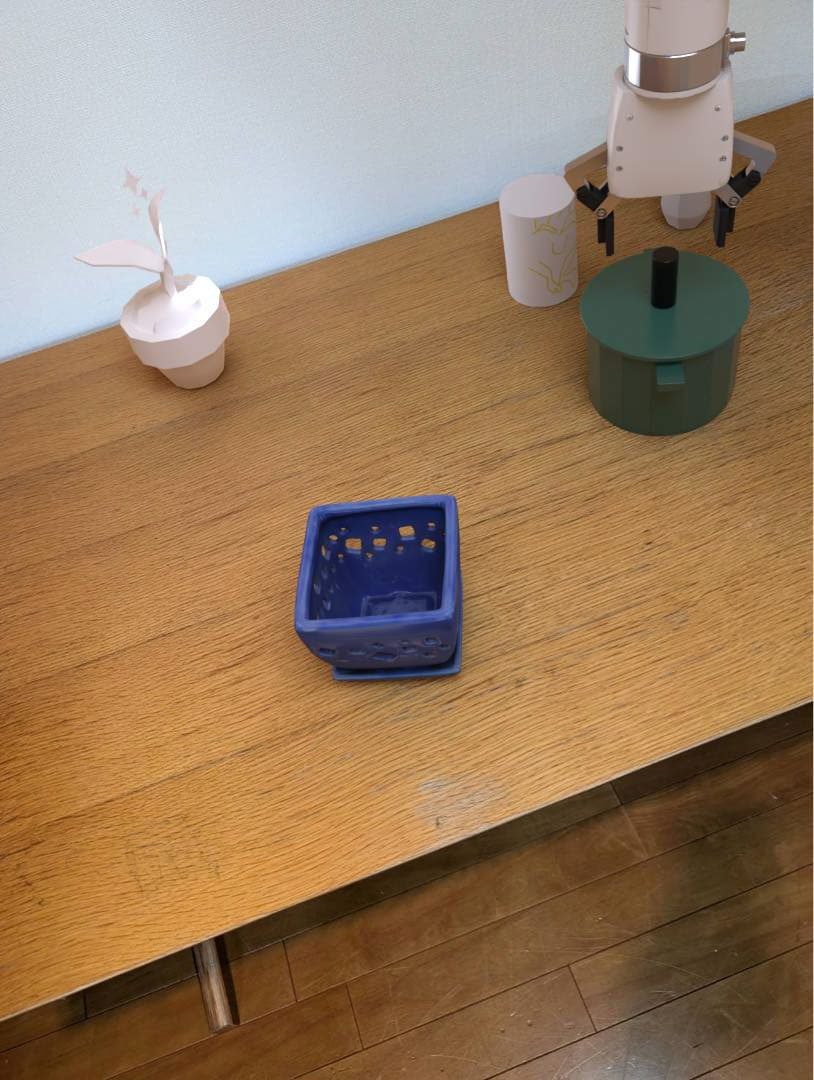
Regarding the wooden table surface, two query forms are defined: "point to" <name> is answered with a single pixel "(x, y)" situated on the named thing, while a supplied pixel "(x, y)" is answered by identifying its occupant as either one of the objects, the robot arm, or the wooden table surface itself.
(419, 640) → the flower pot
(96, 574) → the wooden table surface
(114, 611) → the wooden table surface
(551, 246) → the white cylinder
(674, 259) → the lid
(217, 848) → the wooden table surface
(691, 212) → the salt shaker
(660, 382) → the pot
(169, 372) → the potted plant
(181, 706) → the wooden table surface
